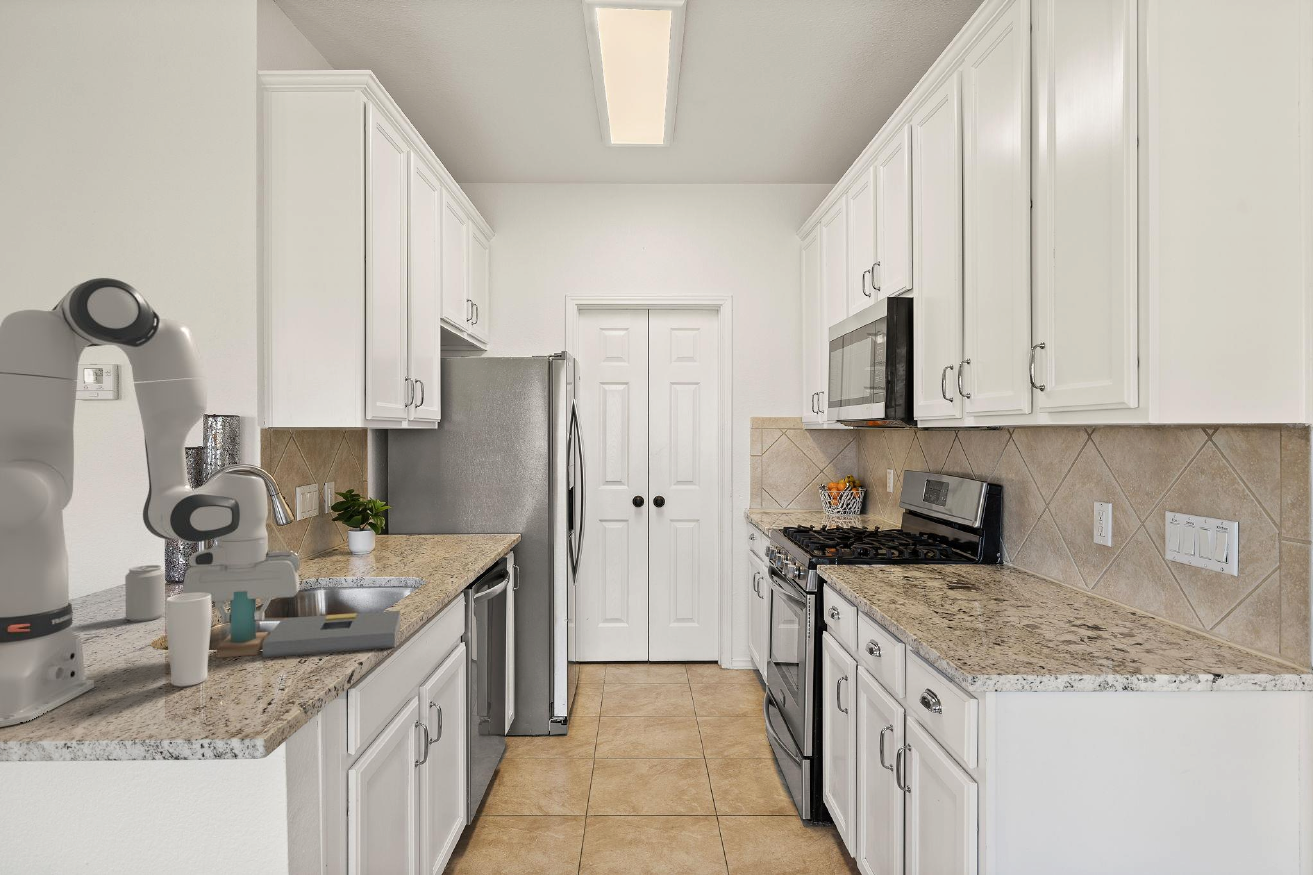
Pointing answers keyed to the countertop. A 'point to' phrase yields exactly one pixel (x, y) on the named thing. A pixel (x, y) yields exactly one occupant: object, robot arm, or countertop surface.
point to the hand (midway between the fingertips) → (243, 621)
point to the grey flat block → (332, 634)
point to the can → (145, 593)
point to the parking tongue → (241, 646)
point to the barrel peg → (242, 618)
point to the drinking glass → (188, 637)
